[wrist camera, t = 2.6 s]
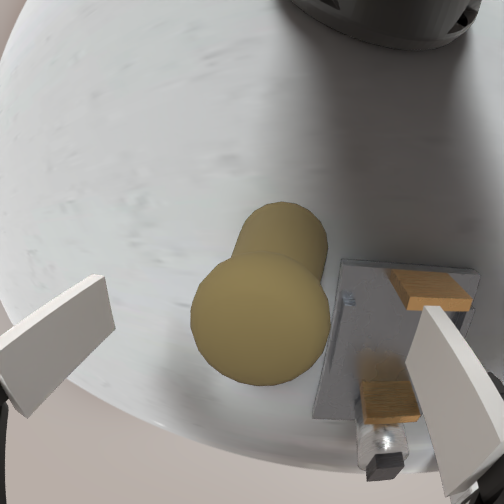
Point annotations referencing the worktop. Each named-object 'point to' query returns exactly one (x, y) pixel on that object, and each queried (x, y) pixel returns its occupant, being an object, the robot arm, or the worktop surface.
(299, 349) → the cork
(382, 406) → the grey stand
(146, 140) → the worktop surface
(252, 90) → the worktop surface
